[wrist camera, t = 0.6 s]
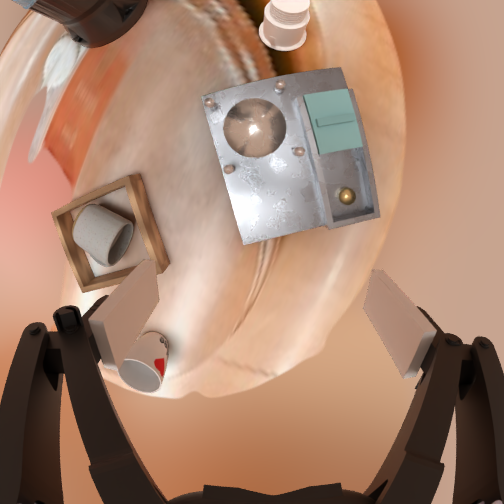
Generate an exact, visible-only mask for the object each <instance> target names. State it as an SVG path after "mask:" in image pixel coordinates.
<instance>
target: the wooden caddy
mask: <svg viewBox="0 0 504 504" xmlns="http://www.w3.org/2000/svg"><path fill="white" fill-rule="evenodd" d="M122 187H126V190H127V194H128V197H129V200H130V203H131V206H132V209H133V212H134V215H135V218H136V221H137V224H138V227H139V230H140V232H141V235H142V238H143V241H144V243H145V246H146V249H147V251H148V254H149V257H150V259H151V260H155V266H156V275H158V274H162V273H163V272H164V271H165V269H166V268H167V267H168V265H169V264H170V261H169V259H168V256H167V253H166V251H165V248H164V245H163V242H162V240H161V237H160V234H159V231H158V228H157V225H156V222H155V220H154V217H153V214H152V211H151V207H150V204H149V201H148V198H147V195H146V192H145V189H144V185H143V182H142V179H141V175H140V174H135V175H130V176H127V177H124V178H122V179H120V180H117V181H115V182H113V183H111V184H108V185H106V186H104V187H102V188H100V189H97V190H95V191H93V192H91V193H89V194H87V195H85V196H83V197H81V198H79V199H77V200H75V201H73V202H71V203H69V204H67V205H65V206H63V207H61V208H60V209H58V210H56V211H54V212H52V213H51V214H52V217H53V220H54V223H55V226H56V229H57V232H58V235H59V238H60V240H61V243H62V246H63V248H64V251H65V254H66V256H67V259H68V261H69V263H70V266H71V268H72V271H73V273H74V275H75V277H76V280H77V282H78V284H79V286H80V288H81V291H82V293H85V292H89V291H93V290H97V289H101V288H105V287H109V286H113V285H117V284H121V283H122V281H123V280H124V279H125V278H126V277H127V276H128V275H129V274H130V273H131V272H132V271H133V270H134V269H135V268H136V267H137V266H135V267H131V268H128V269H124V270H120V271H117V272H113V273H109V274H106V275H102V276H99V277H94V274H93V272H92V270H91V267H90V265H89V263H88V260H87V258H86V255H85V253H84V250H83V249H82V248H81V247H79V246H78V245H77V244H76V242H75V241H74V240H73V237H72V228H73V224H74V223H73V220H72V217H71V214H70V211H71V210H73V209H75V208H78V207H80V206H82V205H84V204H86V203H88V202H90V201H92V200H95V199H97V198H99V197H101V196H104V195H106V194H108V193H110V192H113V191H115V190H117V189H120V188H122Z"/></svg>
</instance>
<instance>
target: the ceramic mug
mask: <svg viewBox="0 0 504 504" xmlns="http://www.w3.org/2000/svg"><path fill="white" fill-rule="evenodd" d="M132 234H133V223H132V222H131V221H129V220H127V219H125V218H123V217H121V216H120V215H118V214H116V213H113V212H111V211H109V210H108V209H106V208H104V207H102V206H100V205H96V204H89V205H87V206H85V207H84V208H83V209H82V210H81V211H80V212H79V214H78V215H77V217H76V219H75V221H74V224H73V228H72V237H73V240H74V241H75V242H76V244H77V245H78V246H79V247H81V248H82V249H84V250H85V251H87V252H88V253H89V254H90V255H91V257H92V258H93V259H94V260H95V261H96V262H97V263H99V264H100V265H102V266H105V267H109V266H113V265H115V264H116V263H117V262H118V261H119V260H120V259H121V257H122V256H123V254H124V253H125V251H126V249H127V247H128V245H129V243H130V240H131V238H132Z"/></svg>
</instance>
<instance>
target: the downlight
mask: <svg viewBox="0 0 504 504" xmlns="http://www.w3.org/2000/svg"><path fill="white" fill-rule="evenodd" d="M309 5H310V0H271V1H270V2H269V3H268V4H267V5H266V7H265V12H264V21H263V22H262V23H261V25H260V27H259V36H260V38H261V40H262V41H263V42H264V43H265V44H266V45H267V46H269V47H270V48H273V49H275V50H279V51H291V50H295V49H297V48H299V47H300V46H302V45H303V43H304V42H305V40H306V30H305V29H306V26H307V24H308V21H309V19H310V13H309V10H308V8H309Z"/></svg>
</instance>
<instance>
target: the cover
mask: <svg viewBox="0 0 504 504" xmlns="http://www.w3.org/2000/svg"><path fill="white" fill-rule="evenodd" d="M303 99H304V103H305V106H306V110H307V113H308V116H309V120H310V124H311V127H312V131H313V135H314V138H315V142H316V146H317V150H318V154H325V153H330V152H335V151H340V150H346V149H351V148H357V147H363V144H362V140H361V136H360V131H359V127H358V124H357V120H356V116H355V112H354V109H353V105H352V102H351V98H350V95H349V92H348V89H340V90H333V91H325V92H319V93H312V94H306V95H303Z"/></svg>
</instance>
